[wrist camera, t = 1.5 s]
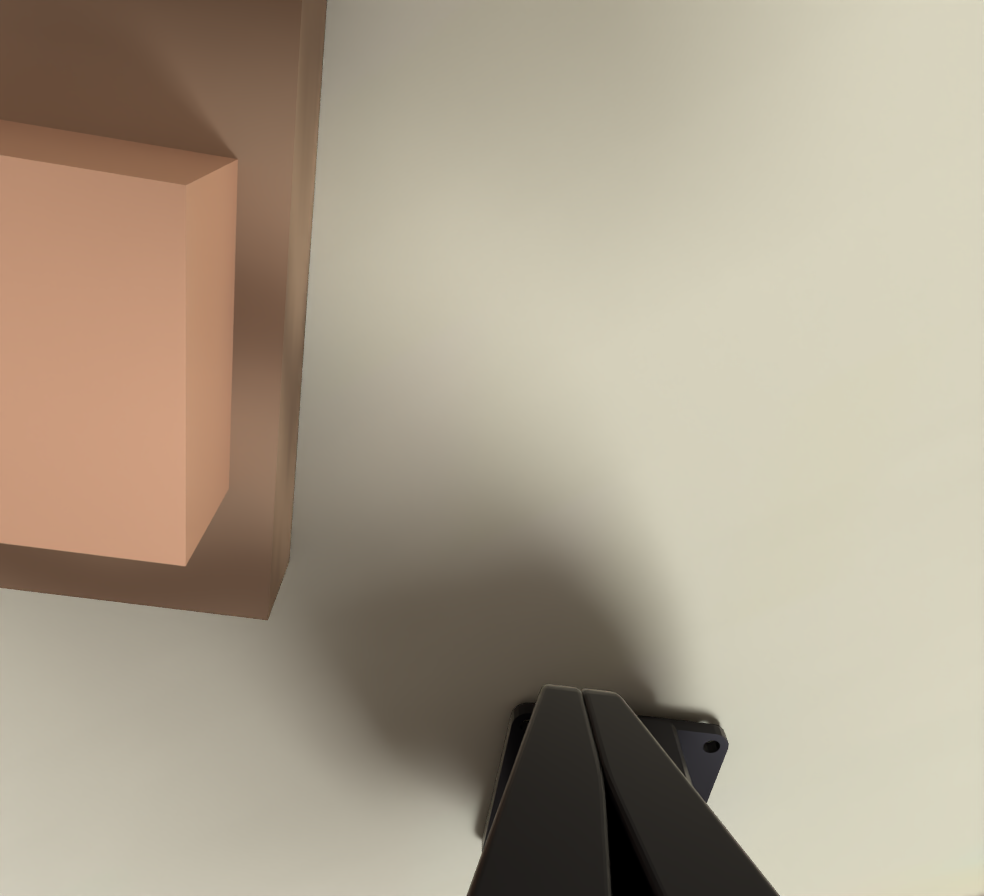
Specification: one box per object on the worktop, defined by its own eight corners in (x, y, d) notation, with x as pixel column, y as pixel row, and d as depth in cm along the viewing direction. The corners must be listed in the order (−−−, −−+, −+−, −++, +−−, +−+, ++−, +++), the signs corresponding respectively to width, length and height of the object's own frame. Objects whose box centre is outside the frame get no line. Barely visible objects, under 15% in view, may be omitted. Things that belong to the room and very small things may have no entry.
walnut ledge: (289, 561, 22) (267, 620, 20) (-103, 511, 21) (-172, 566, 19) (329, -38, 16) (304, -50, 14) (-219, -141, 15) (-340, -171, 13)
